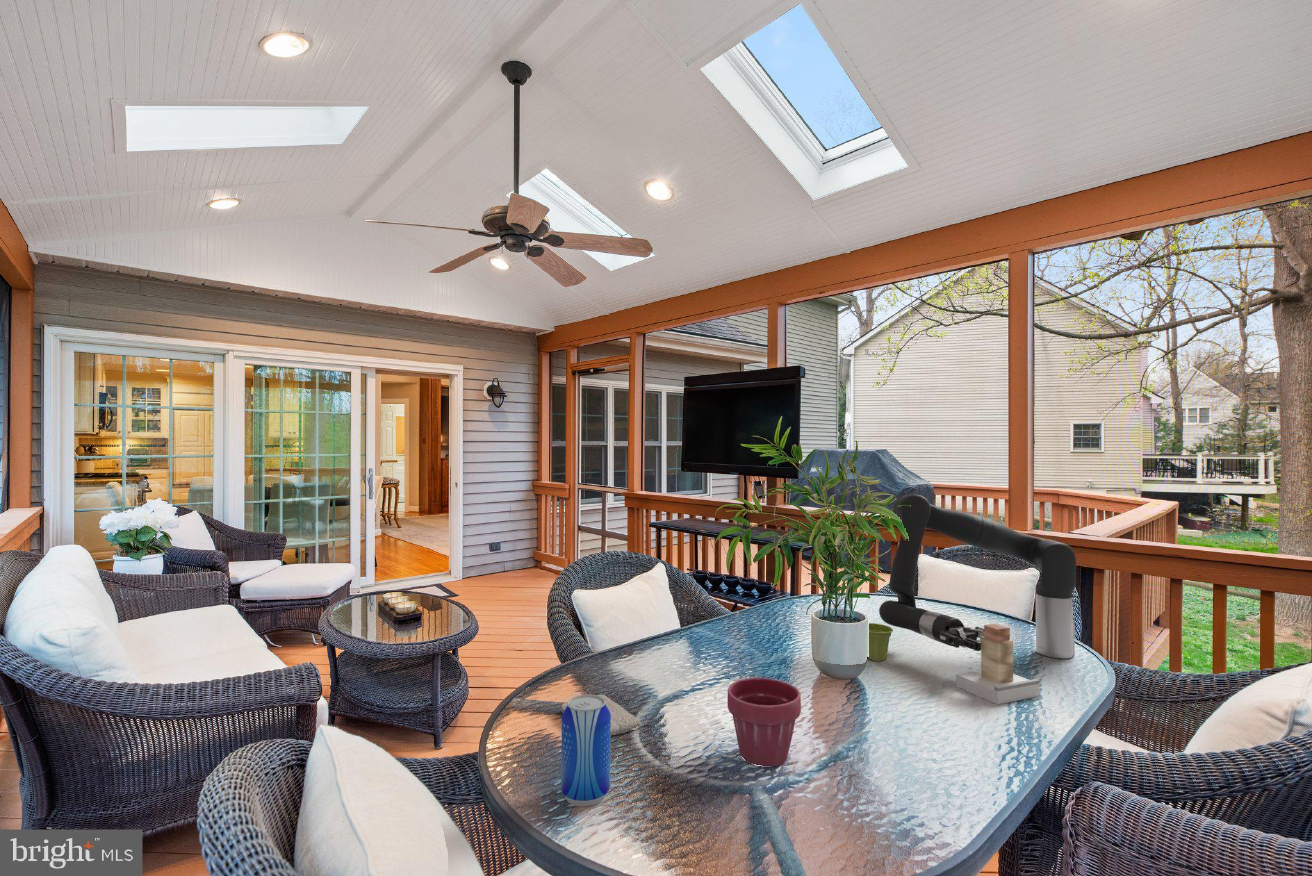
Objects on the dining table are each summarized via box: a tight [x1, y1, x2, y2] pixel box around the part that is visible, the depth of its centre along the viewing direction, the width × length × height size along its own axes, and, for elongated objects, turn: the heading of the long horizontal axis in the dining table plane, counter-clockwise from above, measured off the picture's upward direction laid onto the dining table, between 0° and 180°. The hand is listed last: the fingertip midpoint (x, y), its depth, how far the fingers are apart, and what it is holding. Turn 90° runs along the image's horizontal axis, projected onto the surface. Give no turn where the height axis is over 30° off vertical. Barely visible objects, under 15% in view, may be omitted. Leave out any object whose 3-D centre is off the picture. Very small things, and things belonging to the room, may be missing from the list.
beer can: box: [560, 694, 612, 807], centre depth 108 cm, size 8×8×16 cm
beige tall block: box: [980, 623, 1014, 684], centre depth 156 cm, size 5×5×13 cm
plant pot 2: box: [868, 622, 894, 662], centre depth 181 cm, size 9×9×9 cm
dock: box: [955, 669, 1041, 705], centre depth 156 cm, size 14×12×4 cm
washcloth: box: [559, 694, 642, 734], centre depth 138 cm, size 12×18×3 cm, turn 35°
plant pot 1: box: [727, 677, 802, 767], centre depth 122 cm, size 14×14×13 cm
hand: (992, 645), depth 158 cm, fingers open, 8 cm apart
